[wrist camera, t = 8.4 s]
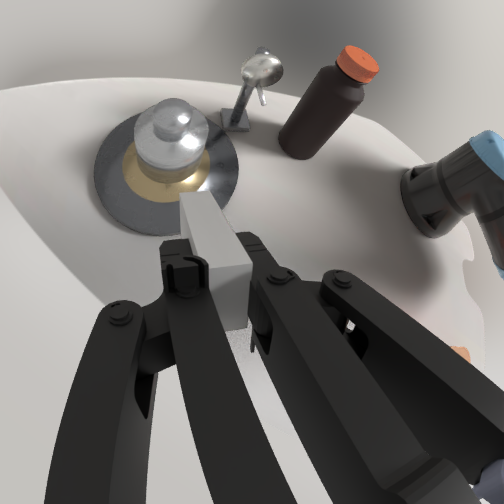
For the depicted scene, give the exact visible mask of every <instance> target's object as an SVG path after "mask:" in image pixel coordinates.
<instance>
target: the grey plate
mask: <svg viewBox="0 0 504 504" xmlns="http://www.w3.org/2000/svg"><path fill="white" fill-rule="evenodd" d="M141 114H142V113H140V114H137V115H135V116H133V117H131V118H129V119H127V120H126V121H124V122H123V123H121V124H120V125H119V126H117V127H116V128H115V129H114V130H113V131H112V132H111V133H110V134H109V135H108V137H107V138H106V139H105V141H104V142H103V144H102V145H101V147H100V150H99V152H98V154H97V158H96V161H95V167H94V179H95V186H96V189H97V192H98V195H99V197H100V199H101V201H102V203H103V205H104V207H105V208H106V209H107V211H108V212H109V213H110V214H111V215H112V216H113V217H114V218H115V219H116V220H117V221H119V222H120V223H121V224H123V225H124V226H126V227H128V228H130V229H132V230H135V231H137V232H140V233H144V234H148V235H155V236H172V235H178V234H181V226H180V199H179V193H183V192H197V191H210V192H211V194H212V195H213V197H214V199H215V200H216V202H217V204H218V205H219V207H220V209H221V210H223V209H224V207H225V206H226V204H227V203H228V201H229V200H230V198H231V196H232V194H233V192H234V190H235V187H236V184H237V179H238V171H239V166H238V158H237V154H236V151H235V149H234V146H233V144H232V142H231V141H230V139H229V137H228V136H227V135H226V134H225V132H224V131H223V130H222V129H221V128H220V127H219V126H217V125H216V124H215V123H213V122H212V121H211V120H209V119H207V118H206V117H205V118H206V120H207V123H208V128H209V132H208V137H207V140H206V144H205V148H204V152H203V156H202V160H201V163H200V166H199V168H198V169H197V171H196V172H195V173H194V174H193V175H192V176H191V177H189V178H188V179H186V180H184V181H181V182H178V183H172V184H164V183H158V182H155V181H153V180H151V179H149V178H147V177H146V176H145V175H144V174H143V173H142V172H141V170H140V169H139V167H138V164H137V158H136V149H135V138H134V127H135V124H136V121H137V119H138V118H139V116H140V115H141Z"/></svg>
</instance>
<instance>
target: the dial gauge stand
mask: <svg viewBox="0 0 504 504" xmlns="http://www.w3.org/2000/svg"><path fill="white" fill-rule="evenodd" d="M241 74H242V77H243V80H244V83H243V85H242V88H241V91H240V93H239V96H238V98H237V101H236V104H235V106H234V109H225V108H222V109H221V112H220V113H221V119H222V125H223V131H245V132H248V131H249V129H250V125H249V120H248V116H247V112H246V109H245V108H246V105H247V103H248V101H249V98H250V96H251V94H252V91H253V89H254V87H256V88H257V91H258V95H259V99H260V102H261V105H262V106H265V105H266V101H265V98H264V95H263V91H262V88H261V87H267V86H270V85H273V84H275V83H276V82H278V81H279V80H280V79H281V77H282V75H283V67H282V65H281V63H280V60H279V59H278V58H277V57H275V56H274V55H271V54H270V50H268V49H267V48H265V47H258V48H257V51H256V53H255V55H253V56H251V57H249V58H248V59H247V60H245V61H244V63H243V64H242V66H241Z"/></svg>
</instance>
